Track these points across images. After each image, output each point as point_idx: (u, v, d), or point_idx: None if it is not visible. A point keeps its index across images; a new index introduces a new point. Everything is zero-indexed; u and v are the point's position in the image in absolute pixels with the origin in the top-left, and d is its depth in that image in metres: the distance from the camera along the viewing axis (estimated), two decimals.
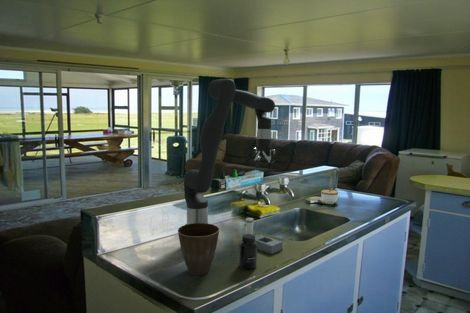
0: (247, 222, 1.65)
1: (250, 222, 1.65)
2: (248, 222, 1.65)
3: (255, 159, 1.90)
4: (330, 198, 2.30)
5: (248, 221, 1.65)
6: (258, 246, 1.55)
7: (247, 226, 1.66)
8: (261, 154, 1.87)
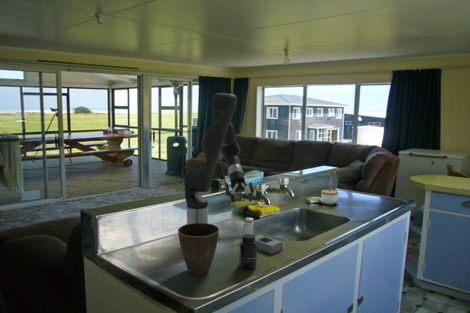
0: (247, 222, 1.65)
1: (250, 222, 1.65)
2: (248, 222, 1.65)
3: (232, 192, 1.78)
4: (330, 198, 2.30)
5: (248, 221, 1.65)
6: (258, 246, 1.55)
7: (247, 226, 1.66)
8: (238, 187, 1.80)
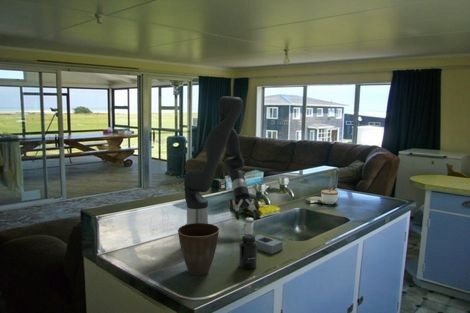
0: (247, 222, 1.65)
1: (250, 222, 1.65)
2: (248, 222, 1.65)
3: (236, 209, 1.71)
4: (330, 198, 2.30)
5: (248, 221, 1.65)
6: (258, 246, 1.55)
7: (247, 226, 1.66)
8: (243, 203, 1.73)
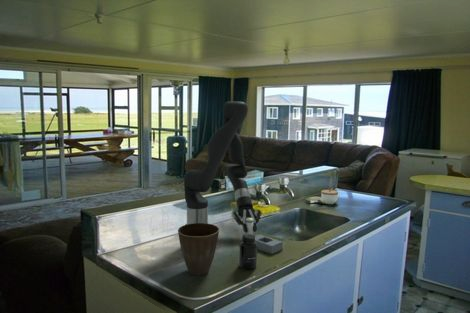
0: (247, 222, 1.65)
1: (250, 222, 1.65)
2: (248, 222, 1.65)
3: (244, 221, 1.66)
4: (330, 198, 2.30)
5: (248, 221, 1.65)
6: (258, 246, 1.55)
7: (247, 226, 1.66)
8: (247, 213, 1.70)
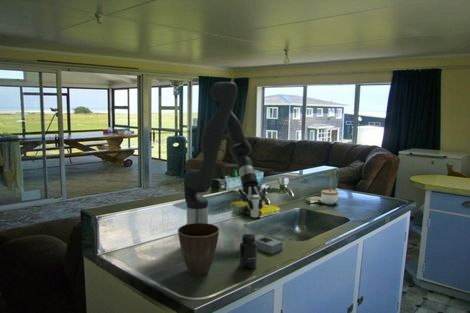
0: (253, 199, 1.60)
1: (256, 199, 1.60)
2: (254, 199, 1.60)
3: (249, 198, 1.61)
4: (330, 198, 2.30)
5: (254, 198, 1.60)
6: (258, 246, 1.55)
7: (253, 203, 1.60)
8: (252, 190, 1.65)
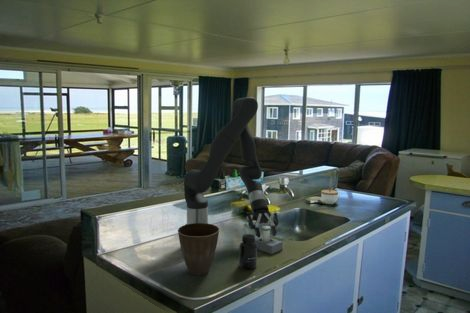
0: (263, 230, 1.54)
1: (267, 230, 1.54)
2: (265, 230, 1.54)
3: (257, 225, 1.55)
4: (330, 198, 2.30)
5: (265, 229, 1.54)
6: (258, 246, 1.55)
7: (263, 234, 1.54)
8: (262, 217, 1.58)
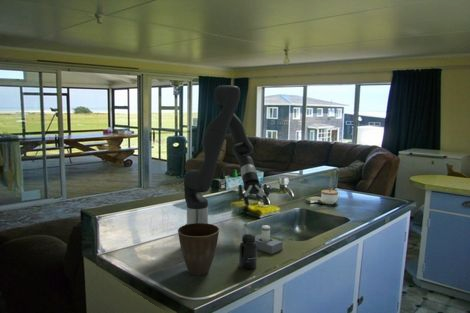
0: (263, 230, 1.54)
1: (267, 230, 1.54)
2: (265, 230, 1.54)
3: (245, 195, 1.66)
4: (330, 198, 2.30)
5: (264, 229, 1.54)
6: (258, 246, 1.55)
7: (263, 234, 1.54)
8: (252, 189, 1.69)
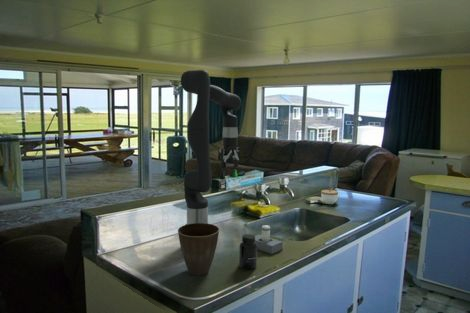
0: (263, 230, 1.54)
1: (267, 230, 1.54)
2: (265, 230, 1.54)
3: (225, 160, 1.77)
4: (330, 198, 2.30)
5: (265, 229, 1.54)
6: (258, 246, 1.55)
7: (263, 234, 1.54)
8: (230, 153, 1.79)
